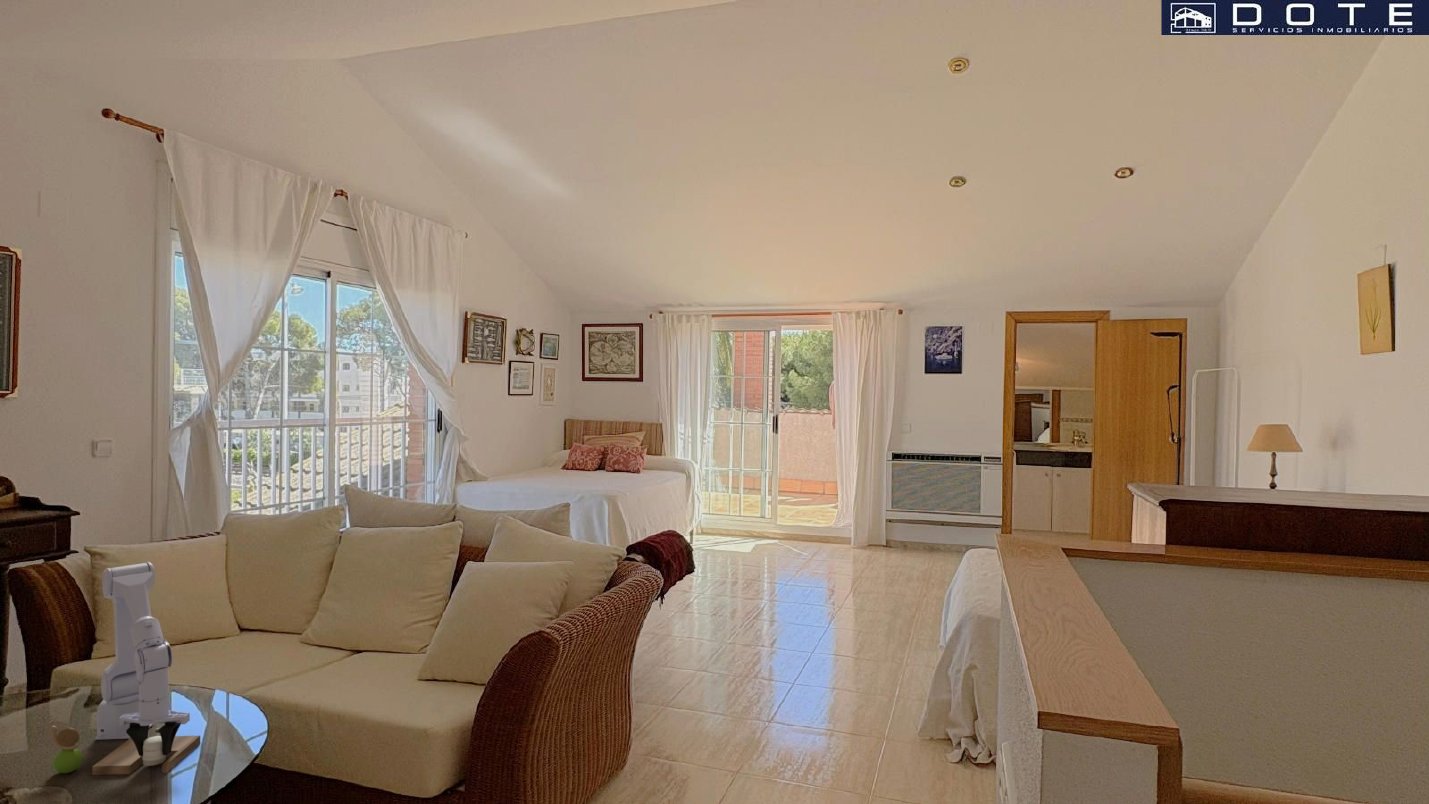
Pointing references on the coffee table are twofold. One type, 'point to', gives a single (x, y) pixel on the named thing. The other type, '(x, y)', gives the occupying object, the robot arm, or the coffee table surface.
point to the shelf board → (129, 759)
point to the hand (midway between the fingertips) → (155, 753)
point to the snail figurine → (66, 749)
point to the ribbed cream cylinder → (153, 751)
